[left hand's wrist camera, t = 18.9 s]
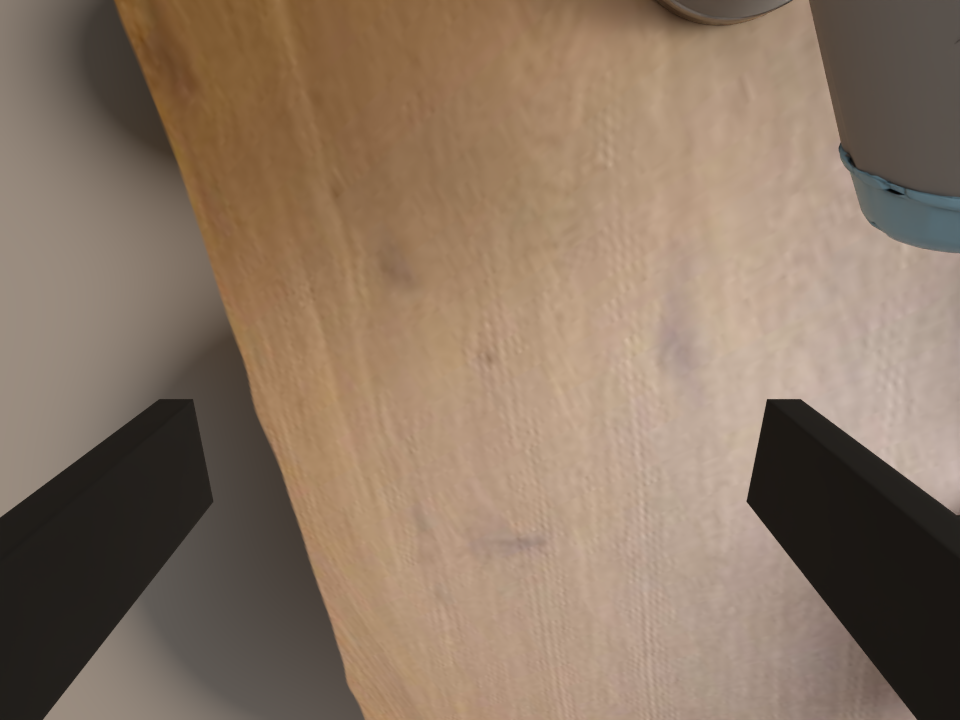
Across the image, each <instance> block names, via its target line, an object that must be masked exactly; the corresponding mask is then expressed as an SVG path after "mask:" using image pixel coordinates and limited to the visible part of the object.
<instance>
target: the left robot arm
mask: <svg viewBox="0 0 960 720" xmlns="http://www.w3.org/2000/svg"><path fill="white" fill-rule="evenodd" d="M656 1H657V2H658V3H659V4H661V5H662V6H663V7H665V8H666V9H667V10H669V11H671V12H672V13H674V14H676V15H677V16H680V17H682V18H684V19H687V20H690V21H693V22H697V23H702V24H707V25H731V24H737V23H742V22H746V21H750V20H753V19H756V18H758V17H761V16H763V15H765V14H767V13H769V12H771V11H773V10H775V9H777V8H779V7H781V6H783V5H785V4H787V3H789V2H790V1H792V0H656ZM809 2H810V7H811V11H812V16H813V20H814V24H815V29H816V33H817V38H818V42H819V47H820V51H821V55H822V60H823V64H824V69H825V73H826V78H827V82H828V86H829V91H830V95H831V100H832V104H833V109H834V113H835V117H836V122H837V126H838V131H839V135H840V140H841V143H840V146H839V153H840V158H841V160H842V162H843V164H844V166H845V167H846V168H847V169H848V170H849V171H850V174H851V177H852V180H853V184H854V187H855V190H856V194H857V197H858V200H859V204H860V207H861V210H862V212H863V214H864V216H865V217H866V219H867V220H868V221H869V223H870V224H871V225H872V226H874V227H876V228H878V229H879V230H881V231H883V232H884V233H886V234H887V235H888V236H889V237H890V238H892V239H894V240H897V241H899V242H902V243H905V244H909V245H912V246H915V247H919V248H924V249H929V250H935V251H941V252H950V253H960V0H809ZM212 503H213V497H212V492H211V487H210V483H209V477H208V472H207V467H206V462H205V457H204V452H203V447H202V442H201V438H200V432H199V427H198V422H197V417H196V412H195V407H194V402H193V399H159V400H158V401H156V402H155V403H154V404H152V405H151V406H150V407H148V408H147V409H146V410H144V411H143V412H142V413H140V414H139V415H138V416H136V417H135V418H134V419H132V420H131V421H130V422H128V423H127V424H125V425H124V426H123V427H121V428H120V429H119V430H117V431H116V432H115V433H113V434H112V435H111V436H109V437H108V438H107V439H105V440H104V441H103V442H101V443H100V444H99V445H97V446H96V447H95V448H93V449H92V450H91V451H89V452H88V453H86V454H85V455H84V456H82V457H81V458H80V459H78V460H77V461H76V462H74V463H73V464H72V465H70V466H69V467H68V468H66V469H65V470H64V471H62V472H61V473H60V474H58V475H57V476H56V477H54V478H53V479H52V480H50V481H49V482H47V483H46V484H45V485H44V486H42V487H41V488H39V489H38V490H37V491H36V492H34V493H33V494H31V495H30V496H29V497H27V498H26V499H25V500H23V501H22V502H21V503H19V504H18V505H17V506H15V507H14V508H13V509H11V510H10V511H8V512H7V513H6V514H4V515H3V516H2V517H0V720H43V719H44V717H45V716H46V715H47V714H48V712H49V711H50V710H51V708H52V707H53V706H54V705H55V703H56V702H57V701H58V700H59V698H60V697H61V696H62V694H63V693H64V692H65V690H66V689H67V688H68V687H69V685H70V684H71V683H72V682H73V680H74V679H75V678H76V676H77V675H78V674H79V673H80V671H81V670H82V669H83V668H84V666H85V665H86V664H87V662H88V661H89V660H90V659H91V657H92V656H93V655H94V654H95V652H96V651H97V650H98V648H99V647H100V646H101V645H102V643H103V642H104V641H105V639H106V638H107V637H108V636H109V634H110V633H111V632H112V630H113V629H114V628H115V627H116V625H117V624H118V623H119V622H120V620H121V619H122V618H123V616H124V615H125V614H126V613H127V611H128V610H129V609H130V608H131V606H132V605H133V604H134V602H135V601H136V600H137V599H138V597H139V596H140V595H141V593H142V592H143V591H144V590H145V588H146V587H147V586H148V585H149V583H150V582H151V581H152V579H153V578H154V577H155V576H156V574H157V573H158V572H159V570H160V569H161V568H162V567H163V565H164V564H165V563H166V562H167V560H168V559H169V558H170V556H171V555H172V554H173V553H174V551H175V550H176V549H177V547H178V546H179V545H180V544H181V542H182V541H183V540H184V539H185V537H186V536H187V535H188V533H189V532H190V531H191V530H192V528H193V527H194V526H195V524H196V523H197V522H198V521H199V519H200V518H201V517H202V516H203V514H204V513H205V512H206V510H207V509H208V508H209V506H210V505H211V504H212ZM747 503H748V504H749V505H750V507H751V508H752V509H753V510H754V512H755V513H756V514H757V516H758V517H759V518H760V519H761V521H762V522H763V523H764V524H765V526H766V527H767V528H768V530H769V531H770V532H771V533H772V535H773V536H774V537H775V539H776V540H777V541H778V542H779V544H780V545H781V546H782V547H783V549H784V550H785V551H786V553H787V554H788V555H789V556H790V558H791V559H792V560H793V562H794V563H795V564H796V565H797V567H798V568H799V569H800V570H801V572H802V573H803V574H804V576H805V577H806V578H807V579H808V581H809V582H810V583H811V585H812V586H813V587H814V588H815V590H816V591H817V592H818V593H819V595H820V596H821V597H822V599H823V600H824V601H825V602H826V604H827V605H828V606H829V608H830V609H831V610H832V611H833V613H834V614H835V615H836V616H837V618H838V619H839V620H840V622H841V623H842V624H843V625H844V627H845V628H846V629H847V631H848V632H849V633H850V634H851V636H852V637H853V638H854V639H855V641H856V642H857V643H858V645H859V646H860V647H861V648H862V650H863V651H864V652H865V654H866V655H867V656H868V657H869V659H870V660H871V661H872V662H873V664H874V665H875V666H876V668H877V669H878V670H879V671H880V673H881V674H882V675H883V677H884V678H885V679H886V680H887V682H888V683H889V684H890V685H891V687H892V688H893V689H894V691H895V692H896V693H897V694H898V696H899V697H900V698H901V700H902V701H903V702H904V703H905V705H906V706H907V707H908V708H909V710H910V711H911V712H912V714H913V715H914V716H915V717H916V719H917V720H960V515H956V514H954V513H953V512H952V511H950V510H949V509H947V508H946V507H945V506H943V505H942V504H941V503H939V502H938V501H937V500H935V499H934V498H933V497H931V496H930V495H929V494H927V493H926V492H925V491H923V490H922V489H921V488H919V487H918V486H917V485H915V484H914V483H913V482H911V481H910V480H908V479H907V478H906V477H904V476H903V475H902V474H900V473H899V472H898V471H896V470H895V469H894V468H892V467H891V466H890V465H888V464H887V463H886V462H884V461H883V460H882V459H880V458H879V457H878V456H876V455H875V454H874V453H872V452H871V451H869V450H868V449H867V448H865V447H864V446H863V445H861V444H860V443H859V442H857V441H856V440H855V439H853V438H852V437H851V436H849V435H848V434H847V433H845V432H844V431H843V430H841V429H840V428H839V427H837V426H836V425H835V424H833V423H832V422H830V421H829V420H828V419H826V418H825V417H824V416H822V415H821V414H820V413H818V412H817V411H816V410H814V409H813V408H812V407H810V406H809V405H808V404H806V403H805V402H804V401H802V400H801V399H767V402H766V407H765V412H764V417H763V422H762V427H761V432H760V437H759V442H758V447H757V452H756V457H755V462H754V467H753V472H752V477H751V482H750V487H749V492H748V497H747Z"/></svg>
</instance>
